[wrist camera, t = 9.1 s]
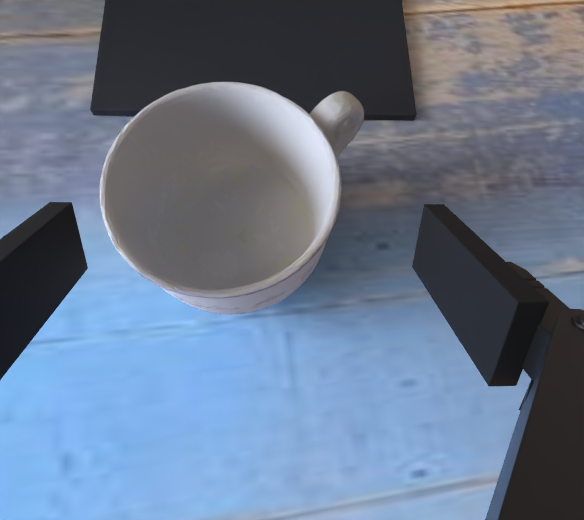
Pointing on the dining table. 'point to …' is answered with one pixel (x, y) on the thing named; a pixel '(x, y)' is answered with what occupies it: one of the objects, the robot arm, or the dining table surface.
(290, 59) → the placemat
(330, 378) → the dining table surface
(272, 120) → the teacup
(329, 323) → the dining table surface
